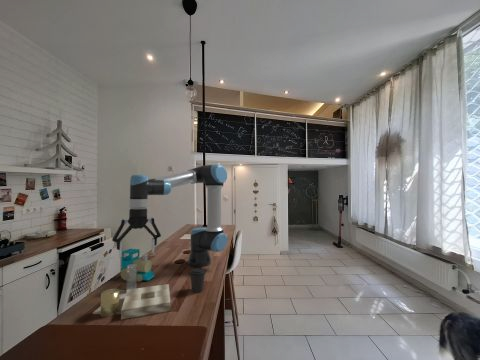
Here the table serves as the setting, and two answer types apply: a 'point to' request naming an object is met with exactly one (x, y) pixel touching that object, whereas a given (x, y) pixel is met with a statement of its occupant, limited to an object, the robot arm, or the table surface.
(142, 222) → the robot arm
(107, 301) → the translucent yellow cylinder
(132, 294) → the socket board
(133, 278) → the square bit
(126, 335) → the table surface
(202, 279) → the coffee cup
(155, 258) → the table surface
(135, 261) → the toy train
